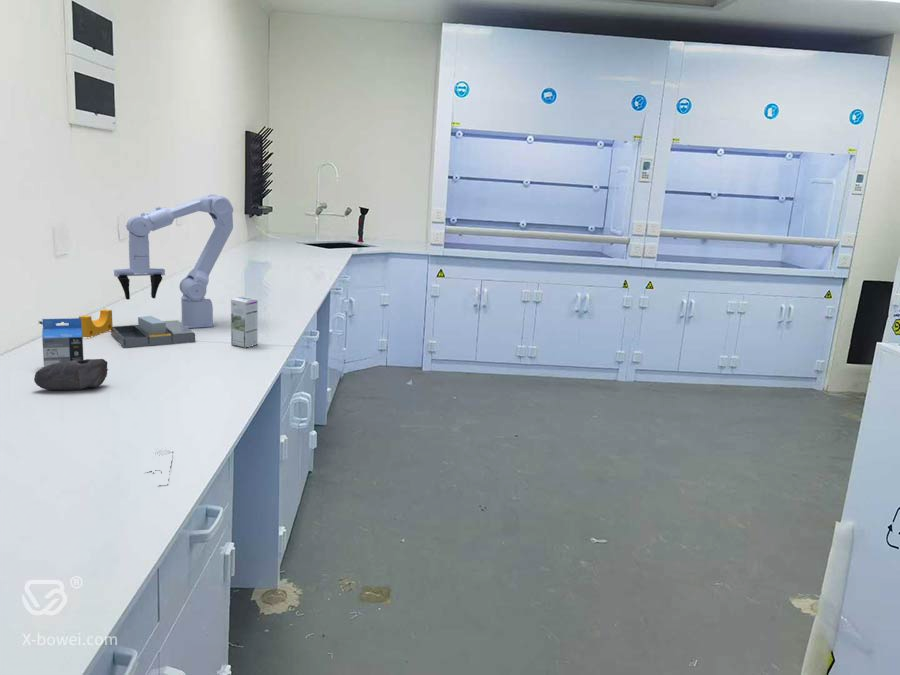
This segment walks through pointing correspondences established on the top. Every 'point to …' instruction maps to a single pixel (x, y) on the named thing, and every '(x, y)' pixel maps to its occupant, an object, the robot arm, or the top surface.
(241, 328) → the syrup box
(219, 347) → the top surface
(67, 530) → the top surface
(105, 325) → the pipe clamp
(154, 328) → the tall blue-grey block
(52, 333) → the ink cartridge box
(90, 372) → the perforated stone tool
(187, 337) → the grey compartment tray
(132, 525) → the top surface
